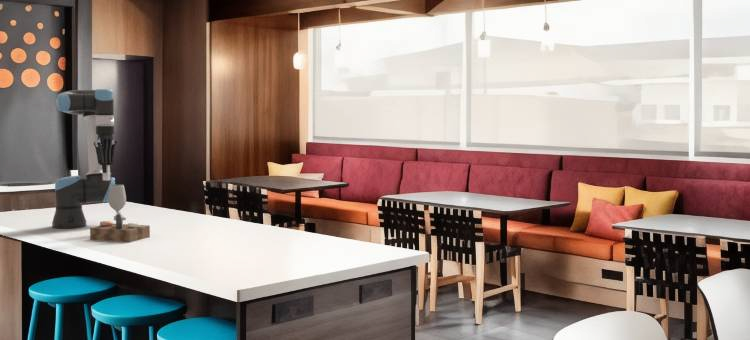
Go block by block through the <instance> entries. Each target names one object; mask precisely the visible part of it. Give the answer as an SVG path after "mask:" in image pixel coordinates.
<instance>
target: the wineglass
mask: <svg viewBox="0 0 750 340" xmlns="http://www.w3.org/2000/svg"><path fill="white" fill-rule="evenodd" d="M124 185H125V184H115V185H110V188H109V196H108V201H109V202H108V204H109V206H110V207H111V209H113V210H114V212H115V213H116V214H117V212H121V210H122V209H123V208H124V207H125V205H126V203H127V194H126V189H125V186H124Z"/></svg>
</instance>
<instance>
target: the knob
mask: <svg viewBox="0 0 750 340" xmlns="http://www.w3.org/2000/svg"><path fill="white" fill-rule="evenodd" d="M127 224H128V227H129V228H137V227H140V225H141V223H140V222H128V223H127Z"/></svg>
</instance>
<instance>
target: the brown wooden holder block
mask: <svg viewBox="0 0 750 340" xmlns="http://www.w3.org/2000/svg"><path fill="white" fill-rule="evenodd" d="M150 228H151V227H150V225H149V224H148V225H146V224H140V227H137V228H129V227H128V223H123V227H122V229H116V223H112V226H108V227H104V226H100V225H97V226H93V227H89V235H90V236H89V237H90V238H89V240H93V241H108V242H122V243H123V242H125V243H126V242H127V243H132V242H133V243H134V242H137V241H139V240H140V241H141V240H143V239H144V240H145V239H148V238H150V237H151V236H150V235H151V231H150Z"/></svg>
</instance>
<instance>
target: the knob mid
mask: <svg viewBox="0 0 750 340" xmlns="http://www.w3.org/2000/svg"><path fill="white" fill-rule="evenodd" d="M126 220H127V216H126V215H124V214H123V215H122V227H123V224H124V221H126ZM113 221H116V215H114V216H113Z"/></svg>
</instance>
